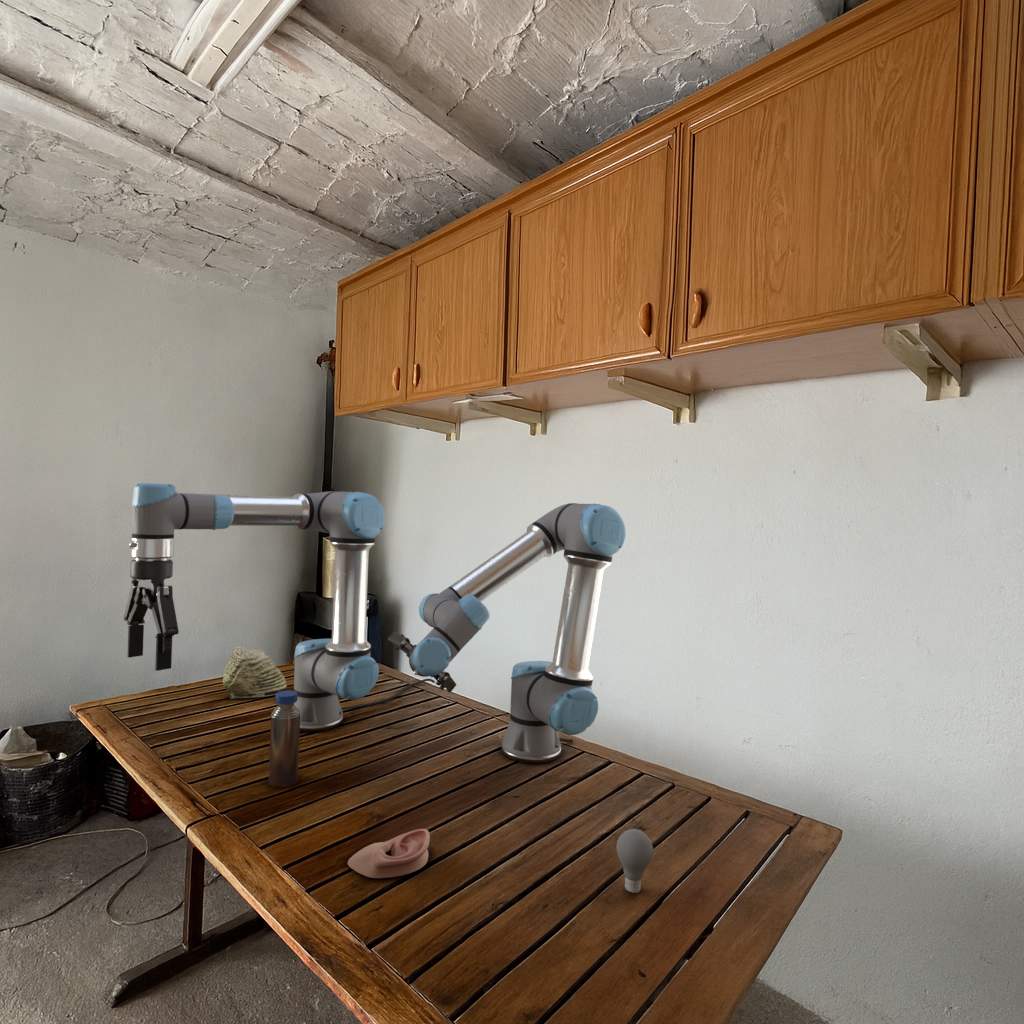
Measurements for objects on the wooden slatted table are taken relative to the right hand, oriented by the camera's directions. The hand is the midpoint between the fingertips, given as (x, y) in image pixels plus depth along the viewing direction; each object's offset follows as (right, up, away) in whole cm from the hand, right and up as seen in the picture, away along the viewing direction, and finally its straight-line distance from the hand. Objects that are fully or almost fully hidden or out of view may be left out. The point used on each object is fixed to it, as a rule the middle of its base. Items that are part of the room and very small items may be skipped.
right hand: (419, 663), depth 163 cm
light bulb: (+44, -25, -57) cm, 76 cm away
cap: (-26, -2, -23) cm, 35 cm away
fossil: (-57, -18, +35) cm, 69 cm away
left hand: (-51, +8, -34) cm, 61 cm away
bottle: (-27, -21, -23) cm, 41 cm away
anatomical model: (+2, -23, -52) cm, 56 cm away
